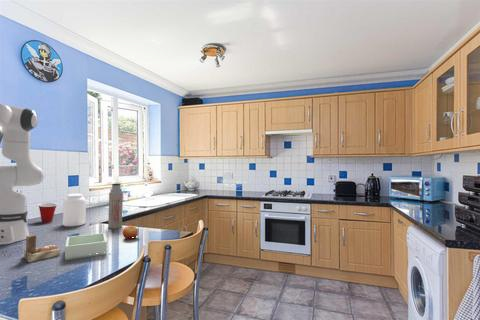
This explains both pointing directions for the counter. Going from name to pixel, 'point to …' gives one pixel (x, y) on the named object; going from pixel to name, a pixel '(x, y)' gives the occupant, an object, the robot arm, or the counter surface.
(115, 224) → the thermos bottle
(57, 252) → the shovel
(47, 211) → the plastic cup
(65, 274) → the counter surface
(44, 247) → the pebble
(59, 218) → the counter surface
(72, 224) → the white jar
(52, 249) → the pebble
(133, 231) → the fruit
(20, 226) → the robot arm
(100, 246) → the bin
